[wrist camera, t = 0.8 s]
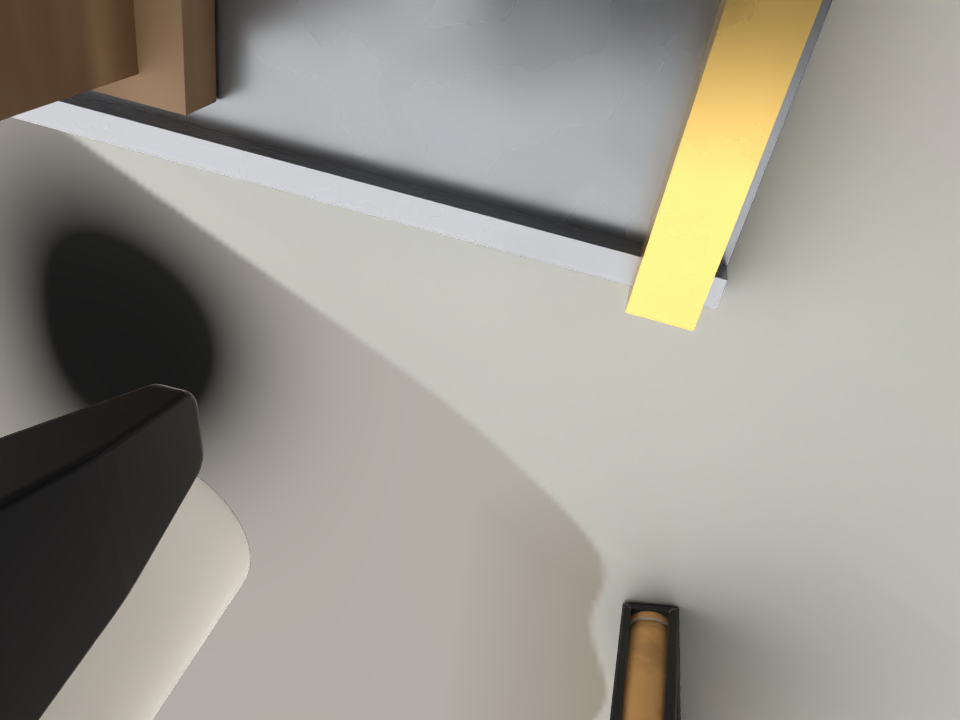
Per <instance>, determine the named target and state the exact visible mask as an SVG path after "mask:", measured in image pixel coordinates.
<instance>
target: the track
mask: <svg viewBox="0 0 960 720" xmlns="http://www.w3.org/2000/svg"><path fill="white" fill-rule="evenodd" d="M831 3H832V0H215V51H216V102H215V103H213V104H210V105H208V106H206V107H204V108H201V109H199V110H197V111H195V112H192V113H190V114H188V115H183V114H179V113H175V112H171V111H168V110H164V109H160V108H156V107H152V106H149V105H145V104H141V103H137V102H134V101H130V100H126V99H122V98H119V97H115V96H111V95H107V94H103V93H100V92H96V91H92V90H90V91H87V92H84V93H81V94H78V95H75V96H72V97H69V98H66V99H63V100H60V101H57V102H54V103H51V104H48V105H45V106H42V107H39V108H36V109H33V110H30V111H27V112H24V113H21V114H18V115H15V116H13V117H12V118H16V119H20V120H24V121H27V122H31V123H35V124H38V125H42V126H46V127H49V128H53V129H56V130H60V131H64V132H67V133H71V134H75V135H78V136H82V137H86V138H89V139H93V140H97V141H100V142H104V143H108V144H111V145H115V146H119V147H122V148H126V149H130V150H133V151H137V152H141V153H144V154H148V155H152V156H155V157H159V158H163V159H166V160H170V161H174V162H177V163H181V164H185V165H188V166H192V167H196V168H199V169H203V170H207V171H210V172H214V173H218V174H221V175H225V176H229V177H232V178H236V179H240V180H243V181H247V182H251V183H254V184H258V185H262V186H265V187H269V188H273V189H276V190H280V191H284V192H287V193H291V194H295V195H298V196H302V197H306V198H309V199H313V200H317V201H320V202H324V203H328V204H331V205H335V206H339V207H342V208H346V209H350V210H353V211H357V212H361V213H364V214H368V215H372V216H375V217H379V218H383V219H386V220H390V221H394V222H397V223H401V224H405V225H408V226H412V227H416V228H419V229H423V230H427V231H430V232H434V233H438V234H441V235H445V236H449V237H452V238H456V239H460V240H463V241H467V242H471V243H474V244H478V245H482V246H485V247H489V248H493V249H496V250H500V251H504V252H507V253H511V254H515V255H518V256H522V257H526V258H529V259H533V260H537V261H540V262H544V263H548V264H551V265H555V266H559V267H562V268H566V269H570V270H573V271H577V272H581V273H584V274H588V275H592V276H595V277H599V278H603V279H606V280H610V281H614V282H617V283H621V284H625V285H628V286H630V290H629V296H628V301H627V306H626V311H625V312H626V313H630V314H633V315H637V316H641V317H644V318H648V319H651V320H655V321H659V322H662V323H666V324H670V325H673V326H677V327H680V328H684V329H688V330H691V331H694V328H695V326H696V323H697V320H698V318H699V315H700V313H701V310H702V308H703V306H705V307H709V308H713V309H716V308H717V305H718V303H719V300H720V298H721V295H722V293H723V290H724V288H725V285H726V283H727V265H728V262H729V260H730V257H731V255H732V252H733V250H734V247H735V244H736V242H737V239H738V237H739V234H740V232H741V229H742V227H743V224H744V222H745V219H746V217H747V214H748V212H749V209H750V207H751V204H752V202H753V199H754V197H755V194H756V192H757V189H758V187H759V184H760V182H761V179H762V177H763V174H764V171H765V169H766V166H767V164H768V161H769V159H770V156H771V154H772V151H773V149H774V146H775V144H776V141H777V139H778V136H779V134H780V131H781V129H782V126H783V124H784V121H785V119H786V116H787V114H788V111H789V109H790V106H791V103H792V101H793V98H794V96H795V93H796V91H797V88H798V86H799V83H800V81H801V78H802V76H803V73H804V71H805V68H806V66H807V63H808V61H809V58H810V56H811V53H812V51H813V48H814V46H815V43H816V41H817V38H818V36H819V33H820V30H821V28H822V25H823V23H824V20H825V18H826V15H827V13H828V10H829V8H830V5H831Z"/></svg>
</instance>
